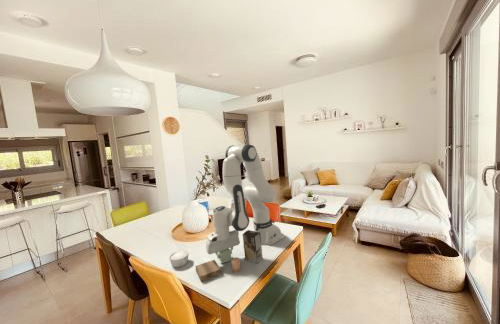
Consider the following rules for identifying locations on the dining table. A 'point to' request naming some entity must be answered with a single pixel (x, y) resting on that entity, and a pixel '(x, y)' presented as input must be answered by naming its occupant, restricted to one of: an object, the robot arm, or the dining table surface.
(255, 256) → the coffee box
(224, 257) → the green cube
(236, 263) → the reddish pink cylinder
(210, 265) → the walnut base
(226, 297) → the dining table surface
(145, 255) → the dining table surface
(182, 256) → the ramekin
